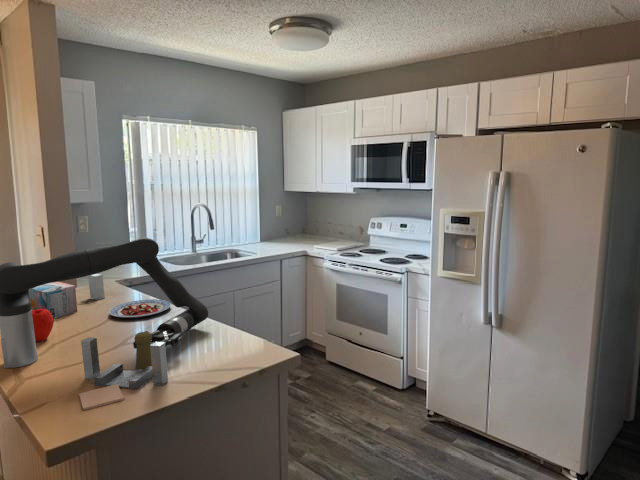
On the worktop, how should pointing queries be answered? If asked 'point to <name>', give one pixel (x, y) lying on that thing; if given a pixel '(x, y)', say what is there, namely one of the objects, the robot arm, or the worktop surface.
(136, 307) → the ceramic plate
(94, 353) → the grey u-shaped stand
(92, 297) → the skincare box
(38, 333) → the apple
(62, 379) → the worktop surface
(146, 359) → the cork
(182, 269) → the worktop surface
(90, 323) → the worktop surface
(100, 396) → the tile
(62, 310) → the soda box
